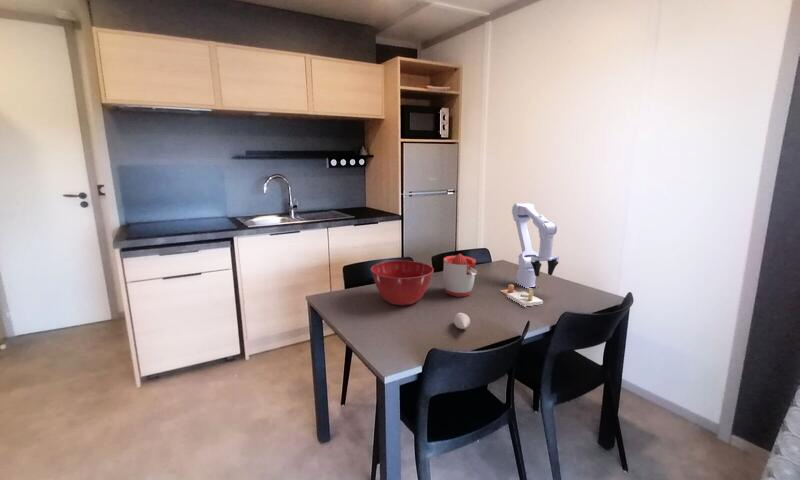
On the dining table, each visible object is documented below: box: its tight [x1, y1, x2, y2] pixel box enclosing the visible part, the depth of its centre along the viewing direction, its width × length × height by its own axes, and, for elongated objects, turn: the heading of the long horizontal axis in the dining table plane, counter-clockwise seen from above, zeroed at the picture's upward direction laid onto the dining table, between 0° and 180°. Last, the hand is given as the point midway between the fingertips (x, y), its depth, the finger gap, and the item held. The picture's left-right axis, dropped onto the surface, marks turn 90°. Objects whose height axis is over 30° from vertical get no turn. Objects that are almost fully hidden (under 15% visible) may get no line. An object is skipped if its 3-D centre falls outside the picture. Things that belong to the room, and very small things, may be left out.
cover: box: [499, 284, 518, 296], centre depth 189 cm, size 7×7×5 cm
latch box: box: [506, 291, 544, 308], centre depth 180 cm, size 13×10×2 cm
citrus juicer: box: [442, 253, 478, 298], centre depth 186 cm, size 16×17×20 cm
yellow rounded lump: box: [520, 288, 534, 301], centre depth 176 cm, size 6×6×5 cm
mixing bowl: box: [370, 260, 435, 306], centre depth 177 cm, size 28×28×16 cm
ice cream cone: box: [453, 312, 471, 330], centre depth 148 cm, size 6×6×15 cm
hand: (543, 275), depth 186 cm, fingers open, 7 cm apart
